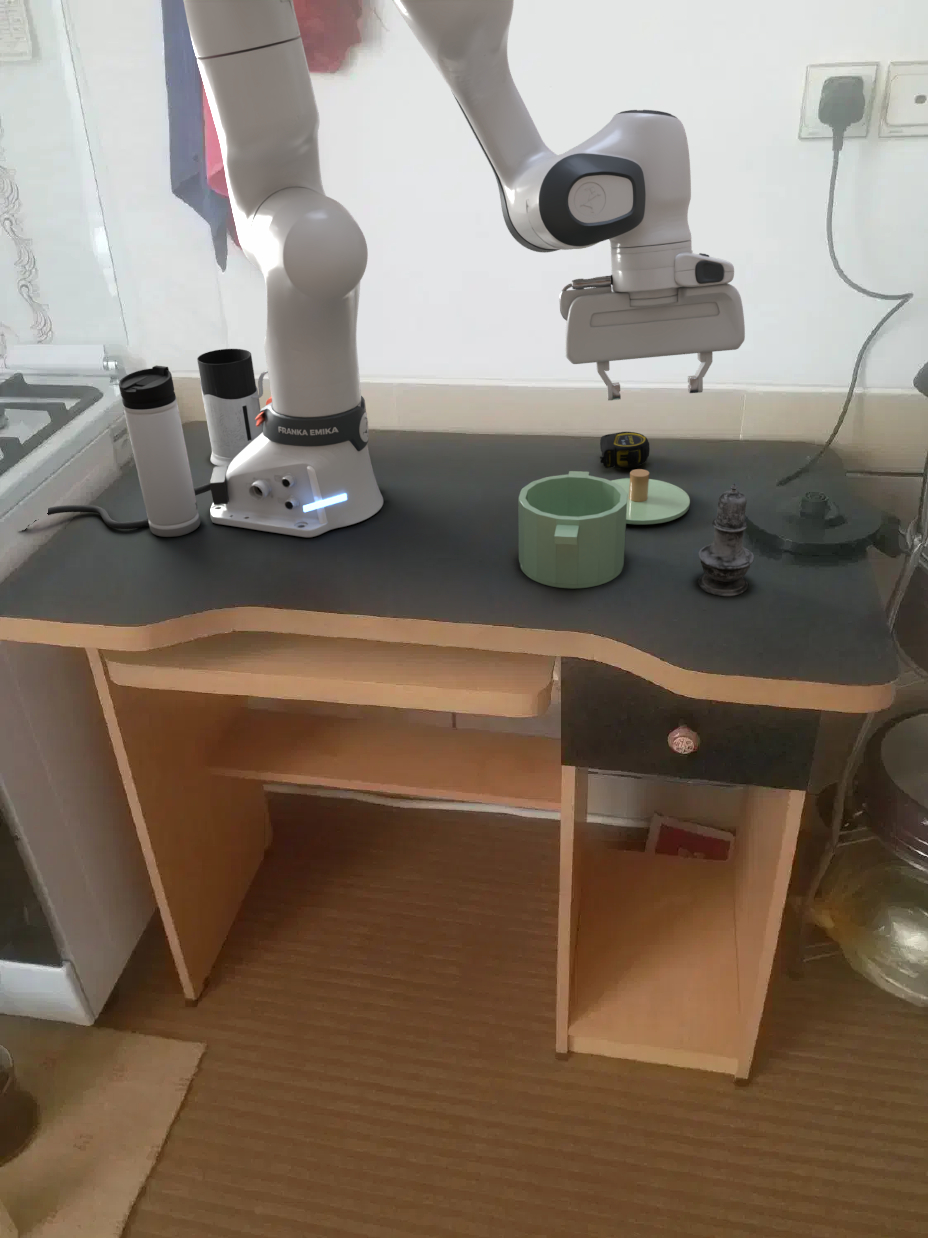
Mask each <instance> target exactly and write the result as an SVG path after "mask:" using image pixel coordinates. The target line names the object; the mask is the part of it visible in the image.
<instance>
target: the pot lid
mask: <svg viewBox="0 0 928 1238" xmlns="http://www.w3.org/2000/svg"><path fill="white" fill-rule="evenodd" d="M611 481H612V482H614V483H616V484H618V485H620V486H621V487H622V488H623V489H624V490H625V491H626V493H627V494H628V499H627V517H626V525H627V524H628V525H642V526H643V525H656V524H657V525H658V524H663V523H667V522H671V521H674V520H676V519H679V518H681V517H682V516H684V515H685V514H686V513H687V512H688V510H689V509H690V505H691V498H690V496H689V494H688V493H687V491H685V490H683V489H682V488H681V487H679V486H677V485H675V484H672V483H670V482H668V481H667V482H666V481H663V480H659V479H653V478H650V472H649V470H647V469H642V468H637V469H631V470H630V472H629V477H625V478H618V479H617V478H616V479H612V480H611Z"/></svg>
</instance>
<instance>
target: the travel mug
mask: <svg viewBox="0 0 928 1238" xmlns="http://www.w3.org/2000/svg"><path fill="white" fill-rule="evenodd" d="M118 388H119V393H120V397H121V402H122V408H123V412H124V413H123V414H124V418H125V423H126V426H127V430H128V435H129V441H130V444H131V449H132V453H133V459H134V464H135V467H136V472H137V476H138V481H139V485H140V490H141V495H142V498H143V503H144V507H145V512H146V518H147V519H149V526H148V527H149V530H150V532H151V533H152V534H153V535H155V536H157V537H162V538H175V537H182V536H185V535H187V534H190V533H193V532H194V531H196V530H197V529H198V527H200V525H201V518H200V513H199V508H198V503H197V498H196V496H195V492H194V488H195V487H194V482H193V476H192V472H191V465H190V461H189V457H188V456H189V455H188V450H187V446H186V445H187V444H186V441H185V440H186V439H185V436H184V430H183V423H182V420H181V414H180V408H179V404H178V399H177V396H176V392H175V385H174V381H173V375H172V373H171V371H170V369H169V367H168V366H164V365H154V366H152V367H151V368H144V369H140V370H137V371H133V372H131V373H128V374H127V375H125V376H123V377H122V378H121V379H120V380H119V381H118Z"/></svg>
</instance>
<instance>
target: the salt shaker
mask: <svg viewBox="0 0 928 1238" xmlns="http://www.w3.org/2000/svg"><path fill="white" fill-rule="evenodd" d="M737 489H738V486H737V485H736V484H735V483H733V484H732V485H731V486H730V490H725V491H724V492H722V493H721V494H720V495H719V497H718V499H717V500H718V501H717V511H716V518H714V519H713V520H712V523H711V524H712V526H713V527H714V532H713V540H712V542H711V543H710V544H708V545H705V546H703V547H702V548H700V550H699V551H698V558H699V560H700V564H701V568H702V570H703V572H704V573H705V574H703V575H701V576H700V578H698V581H697V582H698V586H699V588H701V590H703V591H704V592H706V593H708V594H711V595H714V596H719V597H720V596H721V597H734V596H739V595H741V594H743V593H745V592H746V590H748V581H747V580H746V579H745V578H744V577H745V575H746V574H747V573H748V571H749V569H750V568H751V565H752V564H753V563H754V561H755V556H754V553H753V552H752V551H750V550H749V549H748V548H746V547H744V544H743V539H744V531H745V530H746V529H747V528H748V522H747V521H745V519H746V517H745V516H746V510H747V503H748V502H747V497H746V496H745V494H744V493H743V492H741V491H738V490H737Z"/></svg>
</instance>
